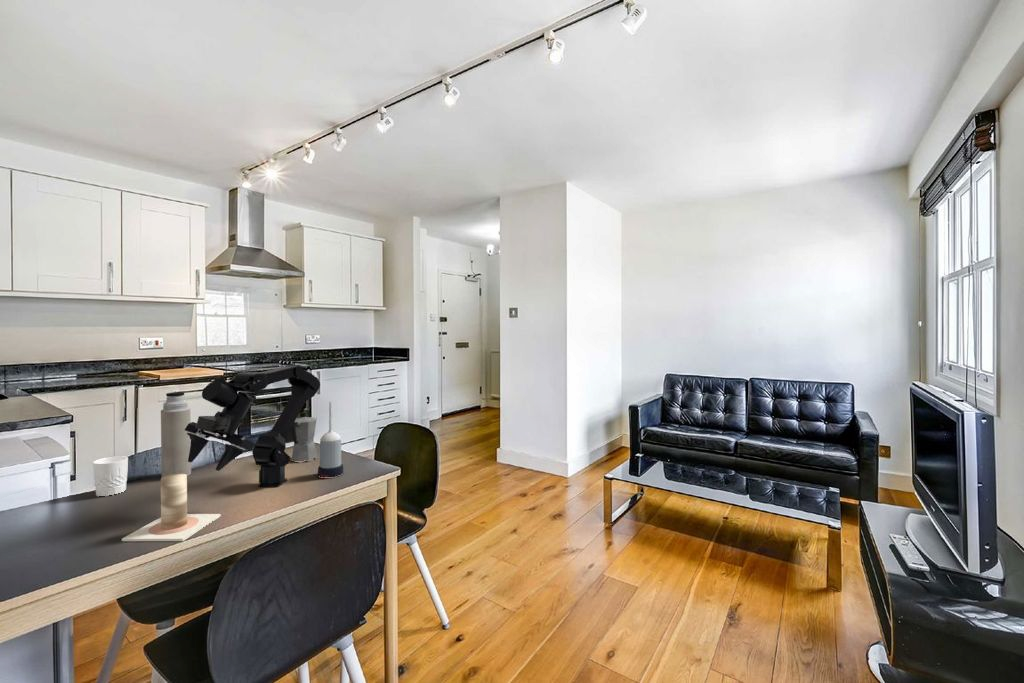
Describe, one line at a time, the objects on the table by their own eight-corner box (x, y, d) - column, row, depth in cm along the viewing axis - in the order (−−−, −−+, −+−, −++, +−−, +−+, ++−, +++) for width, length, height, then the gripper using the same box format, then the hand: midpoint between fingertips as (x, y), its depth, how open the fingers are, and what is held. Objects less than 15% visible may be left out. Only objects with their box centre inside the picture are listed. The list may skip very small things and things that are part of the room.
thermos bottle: (184, 470, 157) (183, 390, 156) (195, 474, 153) (194, 392, 152) (157, 476, 150) (156, 392, 149) (167, 480, 146) (166, 394, 145)
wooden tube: (189, 519, 115) (189, 472, 115) (184, 527, 111) (183, 479, 110) (164, 522, 113) (164, 475, 113) (158, 531, 108) (157, 481, 108)
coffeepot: (300, 454, 178) (299, 409, 177) (323, 454, 177) (323, 409, 177) (279, 466, 162) (279, 416, 162) (305, 466, 162) (305, 416, 162)
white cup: (107, 488, 139) (107, 456, 138) (135, 487, 139) (134, 455, 139) (85, 498, 131) (85, 464, 131) (114, 497, 131) (114, 463, 131)
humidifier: (319, 480, 148) (319, 404, 147) (316, 473, 155) (316, 400, 154) (345, 476, 152) (345, 402, 151) (341, 469, 159) (341, 399, 158)
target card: (220, 516, 119) (220, 513, 119) (182, 541, 105) (182, 538, 105) (166, 516, 119) (166, 513, 119) (121, 541, 105) (121, 538, 105)
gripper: (186, 396, 124) (152, 450, 118) (243, 411, 121) (211, 468, 114) (213, 409, 134) (183, 460, 128) (267, 423, 130) (238, 477, 124)
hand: (203, 466), depth 123 cm, fingers open, 9 cm apart
